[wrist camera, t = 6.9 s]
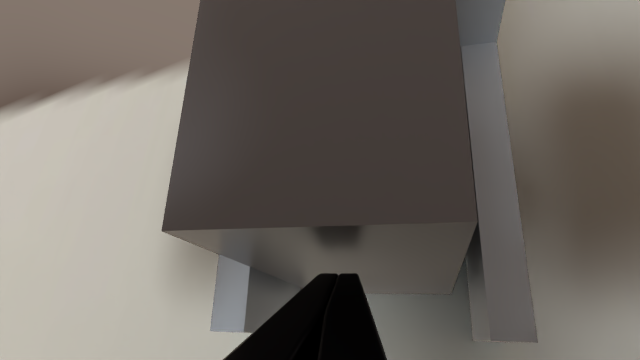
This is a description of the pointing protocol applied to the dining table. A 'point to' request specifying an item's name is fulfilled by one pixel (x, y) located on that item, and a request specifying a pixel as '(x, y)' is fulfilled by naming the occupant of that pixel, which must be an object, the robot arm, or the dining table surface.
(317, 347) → the robot arm
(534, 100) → the dining table surface
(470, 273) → the socket
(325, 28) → the plug
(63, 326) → the dining table surface
